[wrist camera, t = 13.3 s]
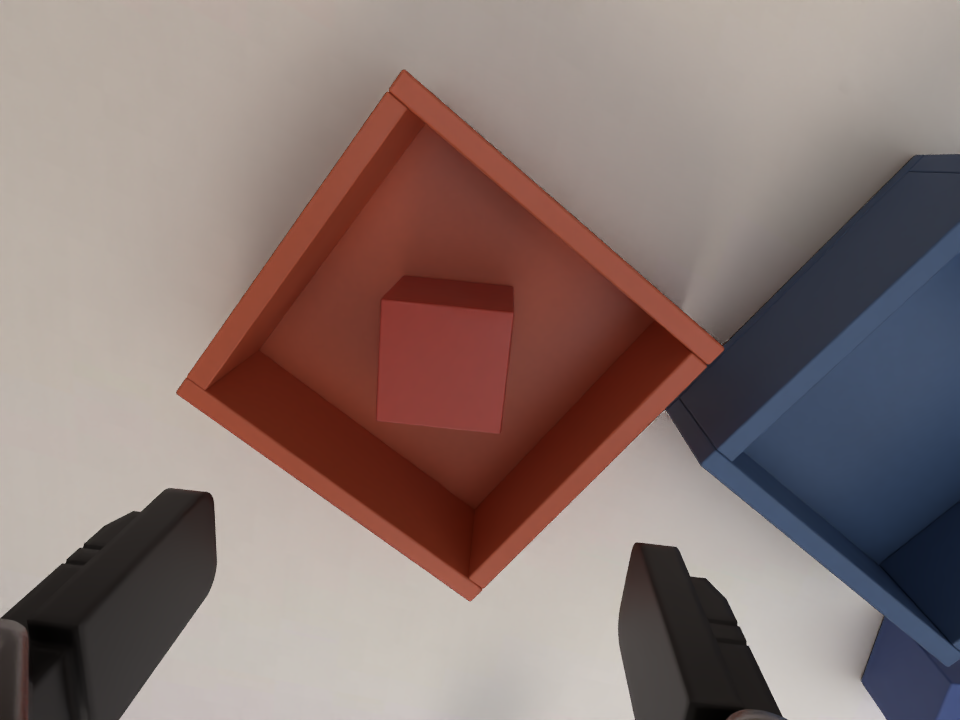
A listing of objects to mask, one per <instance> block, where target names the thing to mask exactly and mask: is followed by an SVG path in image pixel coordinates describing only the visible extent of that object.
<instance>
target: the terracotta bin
mask: <svg viewBox="0 0 960 720" xmlns="http://www.w3.org/2000/svg"><path fill="white" fill-rule="evenodd" d="M404 275H406V276H416V277H426V278H436V279H446V280H456V281H466V282H476V283H486V284H496V285H506V286H512V287H513V288H514V323H513V331H512V340H511V349H510V358H509V367H508V376H507V384H506V393H505V402H504V411H503V420H502V429H501V433H500V434H494V433H484V432H474V431H465V430H455V429H446V428H436V427H426V426H417V425H407V424H398V423H388V422H378V421H376V396H377V373H378V350H379V326H380V303H381V299H382V298H383V297H384V296H385V294H386V293H387V292H388V291H389V290H390V289H391V288H392V287H393V286H394V285H395V284H396V283H397V282H398V280H399V279H400V278H401V277H402V276H404ZM723 351H724V347H723V346H722V345H721V344H720V343H719V342H718V341H717V340H715V339H714V338H713V337H712V336H711V335H710V334H708V333H707V332H706V331H705V330H704V329H703V328H702V327H700V326H699V325H698V324H697V323H696V322H695V321H694V320H692V319H691V318H690V317H689V316H688V315H687V314H685V313H684V312H683V311H682V310H681V309H680V308H679V307H677V306H676V305H675V304H674V303H673V302H672V301H671V300H669V299H668V298H667V297H666V296H665V295H664V294H662V293H661V292H660V291H659V290H658V289H657V288H656V287H654V286H653V285H652V284H651V283H650V282H649V281H648V280H646V279H645V278H644V277H643V276H642V275H641V274H639V273H638V272H637V271H636V270H635V269H634V268H633V267H631V266H630V265H629V264H628V263H627V262H626V261H625V260H623V259H622V258H621V257H620V256H619V255H618V254H617V253H615V252H614V251H613V250H612V249H611V248H610V247H608V246H607V245H606V244H605V243H604V242H603V241H602V240H600V239H599V238H598V237H597V236H596V235H595V234H594V233H592V232H591V231H590V230H589V229H588V228H587V227H585V226H584V225H583V224H582V223H581V222H580V221H579V220H577V219H576V218H575V217H574V216H573V215H572V214H571V213H569V212H568V211H567V210H566V209H565V208H564V207H562V206H561V205H560V204H559V203H558V202H557V201H556V200H554V199H553V198H552V197H551V196H550V195H549V194H548V193H546V192H545V191H544V190H543V189H542V188H541V187H539V186H538V185H537V184H536V183H535V182H534V181H533V180H531V179H530V178H529V177H528V176H527V175H526V174H525V173H523V172H522V171H521V170H520V169H519V168H518V167H516V166H515V165H514V164H513V163H512V162H511V161H510V160H508V159H507V158H506V157H505V156H504V155H503V154H502V153H500V152H499V151H498V150H497V149H496V148H495V147H493V146H492V145H491V144H490V143H489V142H488V141H487V140H485V139H484V138H483V137H482V136H481V135H480V134H479V133H477V132H476V131H475V130H474V129H473V128H472V127H470V126H469V125H468V124H467V123H466V122H465V121H464V120H462V119H461V118H460V117H459V116H458V115H457V114H456V113H454V112H453V111H452V110H451V109H450V108H449V107H447V106H446V105H445V104H444V103H443V102H442V101H441V100H439V99H438V98H437V97H436V96H435V95H434V94H433V93H431V92H430V91H429V90H428V89H427V88H426V87H424V86H423V85H422V84H421V83H420V82H419V81H418V80H416V79H415V78H414V77H413V76H412V75H411V74H410V73H408V72H407V71H406V70H402V71H401V72H400V74H399V75H398V77H397V78H396V79H395V81H394V82H393V84H392V85H391V87H390V88H389V92H386V93H385V95H384V96H383V98H382V99H381V100H380V102H379V103H378V105H377V106H376V108H375V109H374V110H373V112H372V113H371V115H370V116H369V117H368V119H367V120H366V122H365V123H364V125H363V126H362V127H361V129H360V130H359V132H358V133H357V135H356V136H355V137H354V139H353V140H352V142H351V143H350V145H349V146H348V147H347V149H346V150H345V152H344V153H343V155H342V156H341V157H340V159H339V160H338V162H337V163H336V165H335V166H334V167H333V169H332V170H331V172H330V173H329V175H328V176H327V177H326V179H325V180H324V182H323V183H322V184H321V186H320V187H319V189H318V190H317V192H316V193H315V194H314V196H313V197H312V199H311V200H310V202H309V203H308V204H307V206H306V207H305V209H304V210H303V212H302V213H301V214H300V216H299V217H298V219H297V220H296V222H295V223H294V224H293V226H292V227H291V229H290V230H289V232H288V233H287V234H286V236H285V237H284V239H283V240H282V242H281V243H280V244H279V246H278V247H277V249H276V250H275V251H274V253H273V254H272V256H271V257H270V259H269V260H268V261H267V263H266V264H265V266H264V267H263V269H262V270H261V271H260V273H259V274H258V276H257V277H256V279H255V280H254V281H253V283H252V284H251V286H250V287H249V289H248V290H247V291H246V293H245V294H244V296H243V297H242V299H241V300H240V301H239V303H238V304H237V306H236V307H235V309H234V310H233V311H232V313H231V314H230V316H229V317H228V319H227V320H226V321H225V323H224V324H223V326H222V327H221V328H220V330H219V331H218V333H217V334H216V336H215V337H214V338H213V340H212V341H211V343H210V344H209V346H208V347H207V348H206V350H205V351H204V353H203V354H202V356H201V357H200V358H199V360H198V361H197V363H196V364H195V366H194V367H193V368H192V370H191V371H190V373H189V374H188V376H187V378H186V379H185V380H184V381H183V383H182V384H181V386H180V387H179V389H178V390H177V392H176V393H177V395H179V396H180V397H182V398H183V399H185V400H186V401H187V402H189V403H190V404H192V405H193V406H194V407H196V408H197V409H199V410H200V411H201V412H203V413H204V414H206V415H207V416H209V417H210V418H211V419H213V420H214V421H216V422H217V423H218V424H220V425H221V426H223V427H224V428H225V429H227V430H228V431H230V432H231V433H233V434H234V435H235V436H237V437H238V438H240V439H241V440H242V441H244V442H245V443H247V444H248V445H249V446H251V447H252V448H254V449H255V450H257V451H258V452H259V453H261V454H262V455H264V456H265V457H266V458H268V459H269V460H271V461H272V462H273V463H275V464H276V465H278V466H279V467H281V468H282V469H283V470H285V471H286V472H288V473H289V474H290V475H292V476H293V477H295V478H296V479H297V480H299V481H300V482H302V483H303V484H305V485H306V486H307V487H309V488H310V489H312V490H313V491H314V492H316V493H317V494H319V495H320V496H321V497H323V498H324V499H326V500H327V501H329V502H330V503H331V504H333V505H334V506H336V507H337V508H338V509H340V510H341V511H343V512H344V513H345V514H347V515H348V516H350V517H351V518H353V519H354V520H355V521H357V522H358V523H360V524H361V525H362V526H364V527H365V528H367V529H368V530H369V531H371V532H372V533H374V534H375V535H377V536H378V537H379V538H381V539H382V540H384V541H385V542H386V543H388V544H389V545H391V546H392V547H393V548H395V549H396V550H398V551H399V552H401V553H402V554H403V555H405V556H406V557H408V558H409V559H410V560H412V561H413V562H415V563H416V564H418V565H419V566H420V567H422V568H423V569H425V570H426V571H427V572H429V573H430V574H432V575H433V576H434V577H436V578H437V579H439V580H440V581H442V582H443V583H444V584H446V585H447V586H449V587H450V588H451V589H453V590H454V591H456V592H457V593H458V594H460V595H461V596H463V597H464V598H466V599H467V600H468V601H472V600H473V599H474V598H475V597H476V596H477V595H478V594H479V593H480V592H481V591H482V588H485V587H486V586H487V585H488V584H489V583H490V582H491V581H492V580H493V579H494V578H495V577H496V576H497V575H498V574H499V573H500V572H501V571H502V570H503V569H504V568H505V567H506V566H507V565H508V564H509V563H510V562H511V561H512V560H513V559H514V558H515V557H516V556H517V555H518V554H519V553H520V552H521V551H522V550H523V549H524V548H525V547H526V546H527V545H528V544H529V543H530V542H531V541H532V540H533V539H534V538H535V537H536V536H537V535H538V534H539V533H540V532H541V531H542V530H543V529H544V528H545V527H546V526H547V525H548V524H549V523H550V522H551V521H552V520H553V519H554V518H555V517H556V516H557V515H558V514H559V513H560V512H561V511H562V510H563V509H564V508H565V507H566V506H567V505H568V504H569V503H570V502H571V501H572V500H573V499H574V498H576V497H577V496H578V495H579V494H580V493H581V492H582V491H583V490H584V489H585V488H586V487H587V486H588V485H589V484H590V483H591V482H592V481H593V480H594V479H595V478H596V477H597V476H598V475H599V474H600V473H601V472H602V471H603V470H604V469H605V468H606V467H607V466H608V465H609V464H610V463H611V462H612V461H613V460H614V459H615V458H616V457H617V456H618V455H619V454H620V453H621V452H622V451H623V450H624V449H625V448H626V447H627V446H628V445H629V444H630V443H631V442H632V441H633V440H634V439H635V438H636V437H637V436H638V435H639V434H640V433H641V432H642V431H643V430H644V429H645V428H646V427H647V426H648V425H649V424H650V423H651V422H652V421H653V420H654V419H655V418H656V417H657V416H658V415H659V414H660V413H661V412H662V411H663V410H664V409H665V408H666V407H667V406H668V405H669V404H670V403H671V402H672V401H673V400H674V399H675V398H676V397H677V396H678V395H679V394H680V393H682V392H683V391H684V390H685V389H686V388H687V387H688V386H689V385H690V384H691V383H692V382H693V381H694V380H695V379H696V378H697V377H698V376H699V375H700V374H701V373H702V372H703V371H704V370H705V369H706V368H707V365H706V364H708V365H709V364H711V363H712V362H713V361H714V360H715V359H716V358H717V357H718V356H719V355H720V354H721V353H722V352H723Z"/></svg>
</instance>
